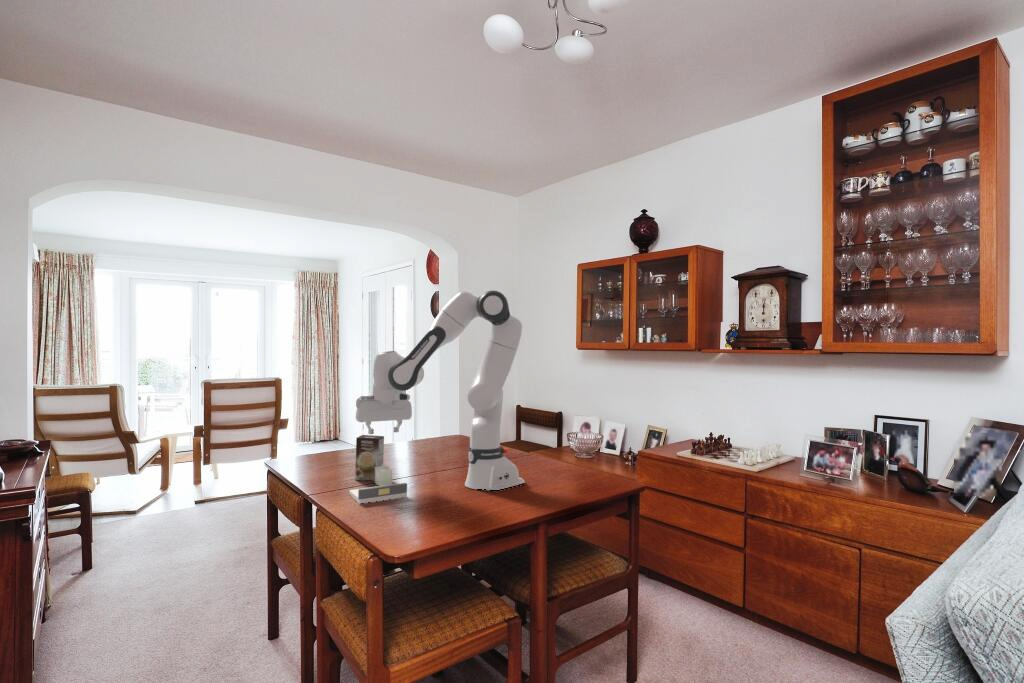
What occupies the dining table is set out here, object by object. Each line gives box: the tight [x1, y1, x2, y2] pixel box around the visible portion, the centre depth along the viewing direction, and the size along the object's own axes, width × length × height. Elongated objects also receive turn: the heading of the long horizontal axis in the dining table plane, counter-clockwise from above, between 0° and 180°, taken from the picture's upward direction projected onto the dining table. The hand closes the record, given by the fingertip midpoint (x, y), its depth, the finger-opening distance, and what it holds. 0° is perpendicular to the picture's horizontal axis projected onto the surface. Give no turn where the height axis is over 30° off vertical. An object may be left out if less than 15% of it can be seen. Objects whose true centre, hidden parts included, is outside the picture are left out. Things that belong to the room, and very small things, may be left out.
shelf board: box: [348, 482, 408, 505], centre depth 172 cm, size 16×12×4 cm
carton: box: [374, 465, 393, 486], centre depth 186 cm, size 4×7×6 cm, turn 33°
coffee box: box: [354, 434, 385, 482], centre depth 194 cm, size 9×6×16 cm
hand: (383, 433), depth 186 cm, fingers open, 8 cm apart
